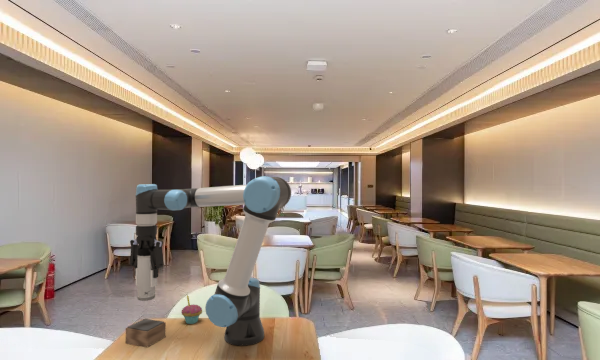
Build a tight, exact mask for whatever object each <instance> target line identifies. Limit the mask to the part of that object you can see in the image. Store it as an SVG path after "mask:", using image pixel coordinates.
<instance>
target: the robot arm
mask: <svg viewBox="0 0 600 360" xmlns="http://www.w3.org/2000/svg"><path fill="white" fill-rule="evenodd" d="M135 191H136V192H135V210H136V211H135V224H136V226H135V236H136V238H135V239H130V240H129V243H130V256H129V259H130V260H129V266H131V267H133V268H134V276H135V286H137V263H138V249H145V248H151V247H152V246H155V248H154V249H153V251H151V250H150V249H149V252H150V261H151V265H152V269H151V270H150V287H154V286H155V287H157V286H158V278H159V269H161V268H163V267H164V261H163V260H164V257H163V245H164V242H163V241H162V240H160V241H159V240H158V239H157V234H158V225H157V224H158V210H165V211H166V210H167V211H181V210H184V209H187V208H202V207H204V208H205V207H218V206H219V207H221V206H224V207H225V206H241V205H243V208H242V211H243V213H244V219H243V222H242V225H241V228H240V231H239V233H238V237H237V239H236V243H235V246H234V249H233V252H232V254H231V258H230V261H229V263H228V266H227V269H226V272H225V275H224V278H222V279H219V280H218V283H217V285H216V288H215V291H214V294H213V295H212V294H211V295H210V297H209V298H208V299H207V300H206V303H205V314H206V316H207V317H208V320H209V321H210V322H211V323H212V324H213V325H214V326H216V327H218V328H225V331H224V341H225V342H226V343H227V344H230V345H234V346H251V345H255V344H258V343H260V342H261V341H263V340H264V338H265V329H264V326H263V322H262V320H261V317H260V313H261V312H260V311H261V309H260V308H261V304H260V303H261V301H260V299H261V297H260V296H261V293H260V292H261V285H260V283H261V282H260V280H259V279H258V278H256V277H252V274H253V272H254V269H255V265H256V263H257V260H258V257H259V254H260V251H261V248H262V245H263V243H264V239H265V237H266V234H267V231H268V228H269V225H270V224H271V223H273V222H275V220H276V218H277V216H278V212H279V210H280V209H282V208H283V207H285V206H286V205H287V204H288V203H289V202H290V200H291V197H292V188H291V185H290V184H289V183H288V181H287V180H285V179H284V178H283V177H279V176H265V175H262V176H259V177H256V178H253V179H252V180H250V181H249V182H247V184H239V185H222V186H212V187H210V186H209V187H197V188H195V187H194V188H183V189H182V188H181V189H158V185H157V184H155V183H151V184H149V183H148V184H147V183H146V184H144V183H143V184H142V183H140V184H137V186H136V189H135Z"/></svg>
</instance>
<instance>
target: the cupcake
mask: <svg viewBox="0 0 600 360" xmlns="http://www.w3.org/2000/svg"><path fill="white" fill-rule="evenodd" d="M186 298H187V299H186V300H187V305H186V306H184V307H183V308H182V309H181V315H182V316H183V318H184V320H185V323H186V324H187V325H188V324H189V325H192V324H193V325H194V324H196V323H198V322H199V317H200V315H202V314H203V309H202V307H201V306H200V305H198V304H191V303H190V297H189V294H186Z"/></svg>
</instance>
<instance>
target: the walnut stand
mask: <svg viewBox="0 0 600 360" xmlns="http://www.w3.org/2000/svg"><path fill="white" fill-rule="evenodd" d="M166 324H167V323H166V322H165V321H163V320H157V319H149V318H144V319H141V320H138V321H137V322H134V323H133V324H131V325H129V326H127V327H125V344H127V345H133V346H137V347H144V348H149V347H151V346H152V345H154V344H156V343H158V342H160V341H161V340H163V339H165V338H166V333H167V332H166V329H167V328H166V327H167V325H166Z"/></svg>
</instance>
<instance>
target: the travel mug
mask: <svg viewBox="0 0 600 360" xmlns="http://www.w3.org/2000/svg"><path fill="white" fill-rule="evenodd" d="M154 248H155V246H152V247H151V248H145V249H138V263H137V285H136V288H137V289H136V291H137V297H136V298H137V300H138V301H140V302H141V301H142V302H145V301H146V302H148V301H151V300H154V299H155V298H156V286H154V287H150V270H151V269H152V265H151V261H150V252H149V249H150V250H151V251H153V249H154Z"/></svg>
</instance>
